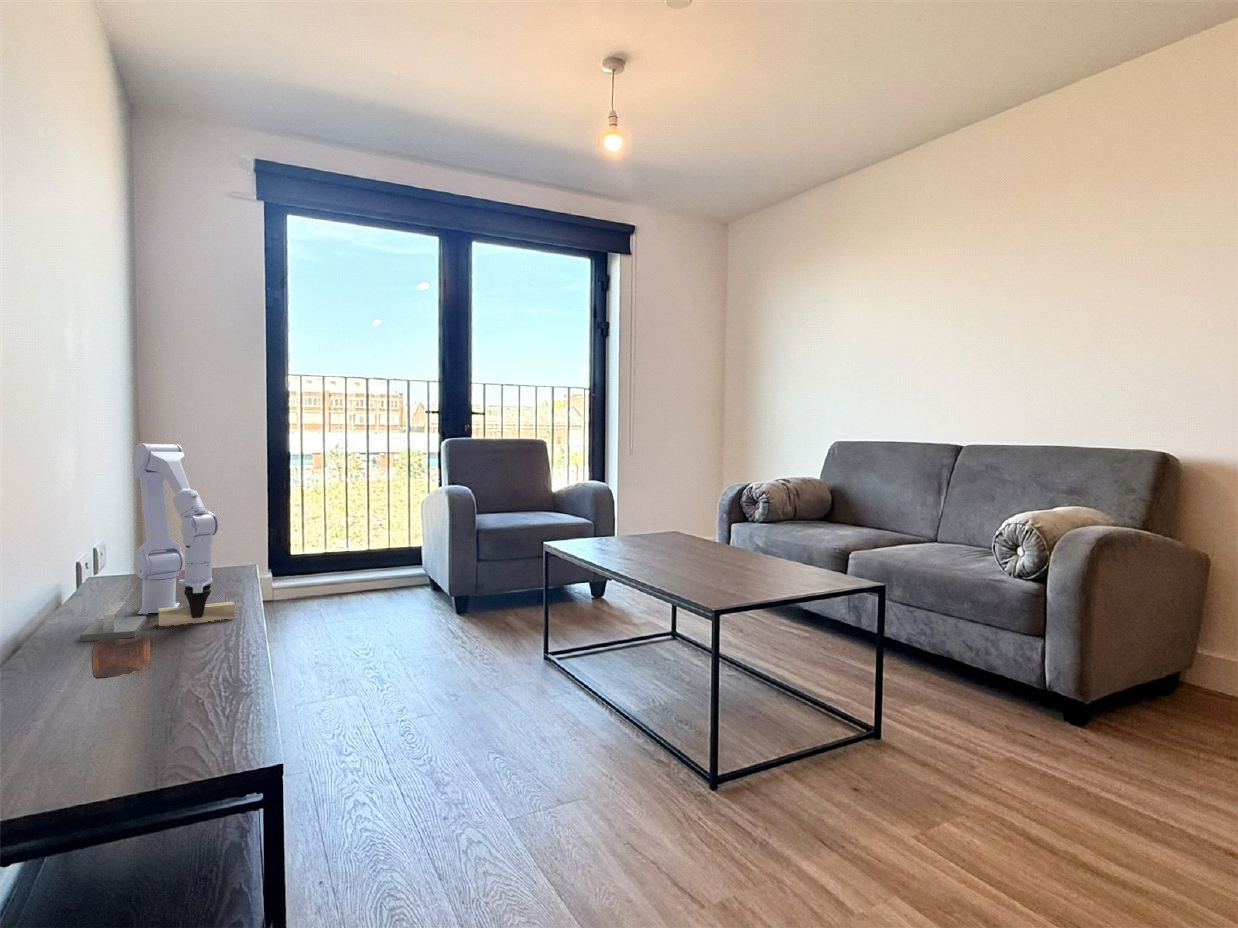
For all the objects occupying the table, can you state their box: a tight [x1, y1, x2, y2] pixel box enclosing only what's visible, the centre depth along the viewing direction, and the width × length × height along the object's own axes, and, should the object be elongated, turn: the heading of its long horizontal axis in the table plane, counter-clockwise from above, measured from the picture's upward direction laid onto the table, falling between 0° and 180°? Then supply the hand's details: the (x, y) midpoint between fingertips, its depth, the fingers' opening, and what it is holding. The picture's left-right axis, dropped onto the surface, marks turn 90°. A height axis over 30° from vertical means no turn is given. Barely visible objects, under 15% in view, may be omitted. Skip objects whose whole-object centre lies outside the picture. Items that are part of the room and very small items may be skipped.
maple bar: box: [157, 601, 236, 627], centre depth 167 cm, size 3×16×4 cm, turn 127°
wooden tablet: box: [92, 635, 151, 678], centre depth 139 cm, size 26×2×10 cm
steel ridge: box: [102, 601, 128, 633], centre depth 156 cm, size 13×2×4 cm, turn 27°
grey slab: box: [79, 615, 147, 642], centre depth 156 cm, size 14×10×2 cm
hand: (197, 615), depth 167 cm, fingers closed on maple bar, 3 cm apart
